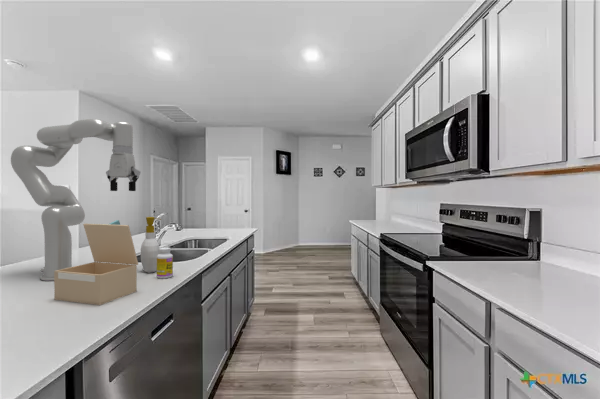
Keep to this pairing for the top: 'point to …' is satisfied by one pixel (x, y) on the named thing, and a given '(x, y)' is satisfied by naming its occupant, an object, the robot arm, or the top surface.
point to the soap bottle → (149, 248)
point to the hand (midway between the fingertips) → (123, 190)
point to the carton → (95, 282)
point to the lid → (111, 243)
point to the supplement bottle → (164, 263)
